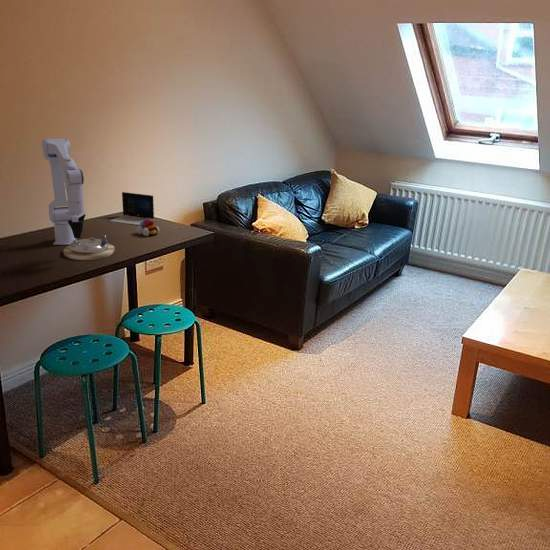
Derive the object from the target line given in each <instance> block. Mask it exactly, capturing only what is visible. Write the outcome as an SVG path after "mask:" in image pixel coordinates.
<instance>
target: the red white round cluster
mask: <svg viewBox="0 0 550 550" xmlns="http://www.w3.org/2000/svg"><path fill="white" fill-rule="evenodd" d="M154 223H155V222H154V220H153V221H152V220H149V219H148V218H147V219H145V220H144V221H141V222H140V225H137V227H136V233H137V235H139V236H140V235H141V234H142V235H143V236H144V237H149V236H150V235H158V234H159V232H160V227H159V226H157V224H154Z"/></svg>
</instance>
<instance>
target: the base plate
mask: <svg viewBox="0 0 550 550" xmlns="http://www.w3.org/2000/svg"><path fill="white" fill-rule="evenodd" d="M115 252H116V249H115V246H114V245H113V244H111V243H108V249H107V250H106V251H104V252H101V253H95V254H77V253H73V252H71V251H70V246H69V245H68V246H67V245H66V247H64V249H63V255H64V257H65V258H67V259H70V260H76V261H94V260H95V261H96V260H102V259H106V258H108V257H111V256H112V255H114V254H115Z"/></svg>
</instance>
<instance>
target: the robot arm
mask: <svg viewBox="0 0 550 550" xmlns="http://www.w3.org/2000/svg"><path fill="white" fill-rule="evenodd" d="M41 144H42V146H41V147H42V152H43V153H42V155H43V157H44V158H43V159H45V160H47V161H48V162H49V165H50V172H51V181H52V182H51V183H52V188H53V194H54V197H53V198H54V200H52V201H51V202H50V203H49V204H48V216H49V217H48V218H49V220H50V222H51V223H53V227H54V236H55V241H54V242H53V243H52V245H56V246H57V245H59V246H60V245H63V246H64V245H65V246H67V245H68V246H69V245H70V243H72V242H73V240H78V239H81V237H82V233H83V228H84V221H85V217H86V213H85V204H84V191H83V184H84V183H85V177H84V172H83V171H82V169H81V168H78V166H77V164H76V162H75V161H74V160H75V159H73V158H71V157H70V155H69V154H70V153H71V143H70V140H69V138H67V137H65V138H43V139H42V142H41Z"/></svg>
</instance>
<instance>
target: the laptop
mask: <svg viewBox="0 0 550 550" xmlns="http://www.w3.org/2000/svg"><path fill="white" fill-rule="evenodd" d="M121 198H122V215H121V216H118V217H115V218H113V219H110V220H109V222H112V223H118V224H126V225H135V226H140V222H141V221H144V220H145V219H149V220H153V221H154V220H155V211H154V210H155V207H154V195H150V194H144V193H143V194H142V193H134V192H125V191H122V192H121Z"/></svg>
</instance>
